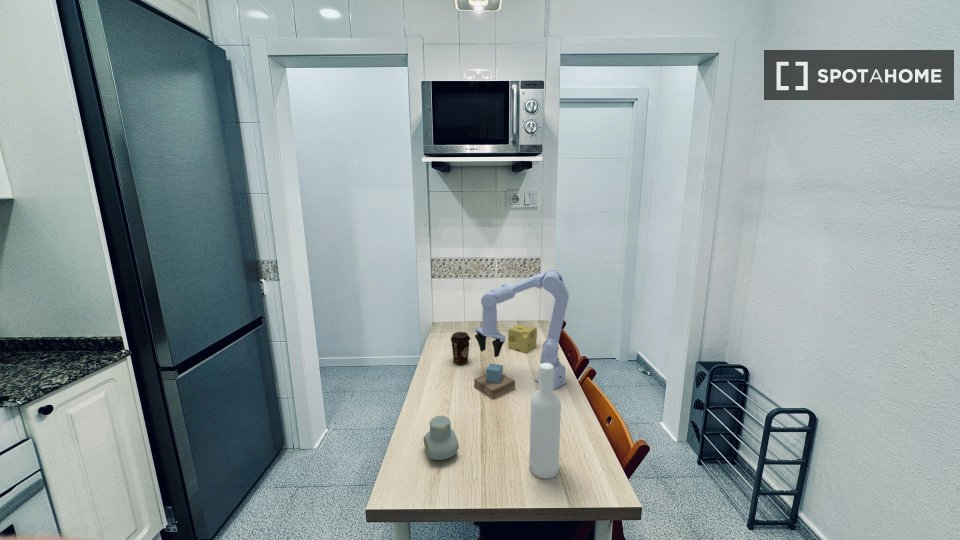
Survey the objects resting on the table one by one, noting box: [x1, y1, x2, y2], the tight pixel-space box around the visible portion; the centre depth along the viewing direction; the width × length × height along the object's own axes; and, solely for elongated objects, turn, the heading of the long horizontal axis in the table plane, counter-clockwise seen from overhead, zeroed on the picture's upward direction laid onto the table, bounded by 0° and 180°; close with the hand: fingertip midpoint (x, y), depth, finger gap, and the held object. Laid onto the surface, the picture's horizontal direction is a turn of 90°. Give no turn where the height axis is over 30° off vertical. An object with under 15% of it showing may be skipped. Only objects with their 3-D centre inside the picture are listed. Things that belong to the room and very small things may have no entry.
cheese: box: [507, 323, 538, 354], centre depth 175 cm, size 10×11×10 cm
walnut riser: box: [473, 373, 516, 400], centre depth 138 cm, size 11×11×4 cm
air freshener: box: [423, 415, 460, 461], centre depth 103 cm, size 11×8×10 cm
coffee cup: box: [450, 331, 471, 366], centre depth 159 cm, size 9×8×13 cm
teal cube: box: [485, 363, 504, 383], centre depth 138 cm, size 5×5×5 cm
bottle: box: [528, 363, 562, 480], centre depth 95 cm, size 8×8×30 cm
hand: (489, 353), depth 147 cm, fingers open, 7 cm apart
